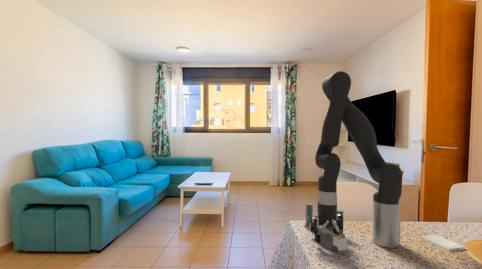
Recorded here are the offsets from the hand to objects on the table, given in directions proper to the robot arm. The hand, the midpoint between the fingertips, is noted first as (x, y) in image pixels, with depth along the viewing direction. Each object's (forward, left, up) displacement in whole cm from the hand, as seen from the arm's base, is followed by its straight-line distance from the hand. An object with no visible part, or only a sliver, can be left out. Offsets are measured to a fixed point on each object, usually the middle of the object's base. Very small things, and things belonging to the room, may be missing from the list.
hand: (326, 241), depth 103 cm
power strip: (0, 0, -2) cm, 2 cm away
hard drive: (-46, +14, -2) cm, 48 cm away
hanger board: (-8, -12, -1) cm, 15 cm away
